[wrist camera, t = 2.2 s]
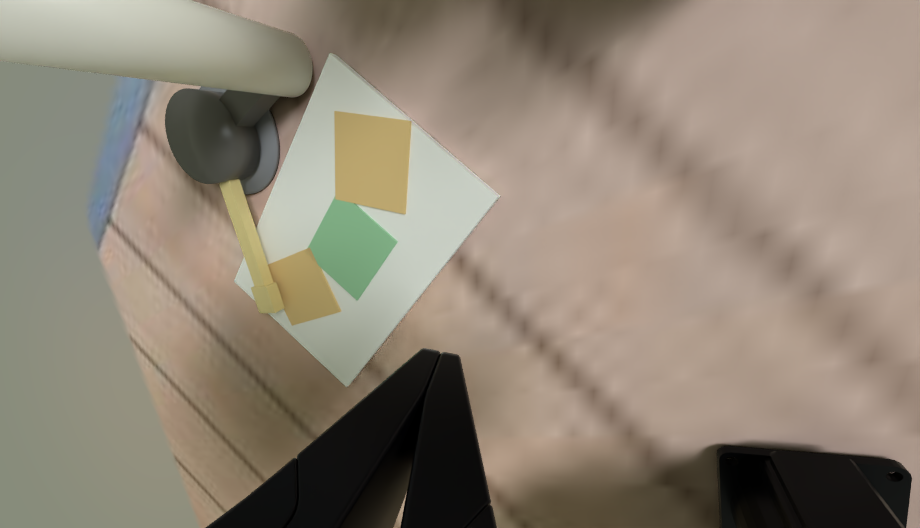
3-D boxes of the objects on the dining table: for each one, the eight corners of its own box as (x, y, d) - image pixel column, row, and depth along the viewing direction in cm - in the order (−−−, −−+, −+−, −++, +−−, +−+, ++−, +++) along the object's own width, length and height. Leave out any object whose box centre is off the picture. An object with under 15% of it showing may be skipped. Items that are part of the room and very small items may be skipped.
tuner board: (501, 194, 18) (498, 196, 17) (351, 383, 26) (345, 388, 25) (233, -36, 19) (222, -42, 18) (169, 211, 27) (159, 213, 26)
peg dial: (393, 118, 18) (78, 91, 7) (284, 314, 25) (47, 446, 14) (232, -20, 19) (-266, -229, 8) (172, 209, 26) (-134, 260, 15)
